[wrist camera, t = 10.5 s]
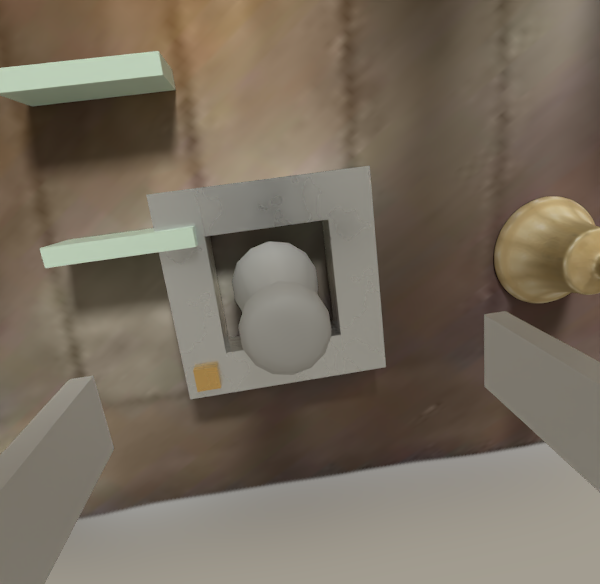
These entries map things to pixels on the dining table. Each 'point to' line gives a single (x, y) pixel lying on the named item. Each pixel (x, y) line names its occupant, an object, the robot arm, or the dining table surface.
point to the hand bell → (548, 251)
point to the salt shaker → (280, 309)
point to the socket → (264, 214)
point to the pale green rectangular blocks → (87, 86)
